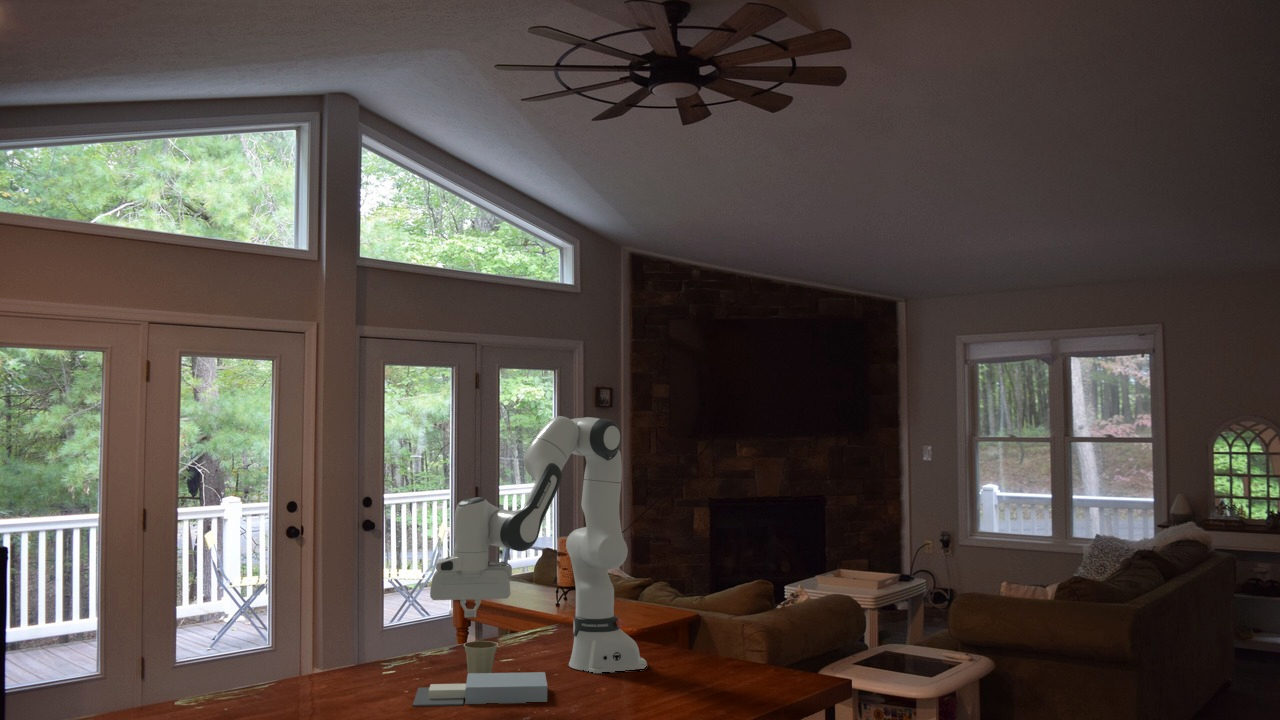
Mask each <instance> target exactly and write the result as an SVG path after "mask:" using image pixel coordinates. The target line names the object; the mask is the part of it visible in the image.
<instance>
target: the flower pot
mask: <svg viewBox="0 0 1280 720" xmlns="http://www.w3.org/2000/svg"><path fill="white" fill-rule="evenodd" d="M463 647H464V651H465V655H466V665H467V674H468V673H493V667H494V661H495V656H496V652H497V649H498V647H499V643H498V642H495V641H490V640H489V641H488V640H476V641H468V642H465V643H464V644H463Z"/></svg>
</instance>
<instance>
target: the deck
mask: <svg viewBox="0 0 1280 720" xmlns="http://www.w3.org/2000/svg"><path fill="white" fill-rule="evenodd" d="M465 684H466V693H465V698H464V700H465V701H464V704H465V705H485V704H486V703H499V704H527V703H526V702H547V703H548V682H547V677H546V672H545V671H539V672H538V671H537V672H534V671H533V672H492V673H468V672H467V676H466V683H465ZM486 705H487V704H486Z"/></svg>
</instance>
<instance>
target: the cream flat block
mask: <svg viewBox="0 0 1280 720" xmlns="http://www.w3.org/2000/svg"><path fill="white" fill-rule="evenodd" d="M429 687H430V688H429V699H439V698H464V699H465V693H466V683H432V684H431V683H430V685H429Z"/></svg>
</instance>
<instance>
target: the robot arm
mask: <svg viewBox="0 0 1280 720" xmlns="http://www.w3.org/2000/svg"><path fill="white" fill-rule="evenodd" d="M621 443H622V432H621V430H620V427H619V425H618V424H617V423H616V421H613V420H611V419H608V418H598V417H589V416H586V417H578V418H577V417H576V418H575V417H567V416H562V415H558V416H554V417H553V418H551V419H550V420H549V421H548V422H547V423H546V424H544V426H543V427H542V428H541V429H540V431H538V433H537V434H536V436H535V437H534V438H533V440H532V441H531V442H530V444H529V445H528V446H527V448H526V451H525V452H524V454H523V455H524V456H523V466H524V469H525V470H526V472H527V473H528V475H529V476H530V477H531V478H532V479H533V480H534V484H533V487H532V490H531V491H530V493H529V495H528V497H527V499H526V501H525V503H524V505H523V506H522V507H520V508H518V509H516V510H511V509H509V510H508V509H502V508H501V507H498V506H495V505H494V504H491V503H490V502H489V501H488V500H487V499H486V498H484V497H476V496H475V497H468V498H465V499H463V500H461V501H460V502H458V503H457V505H456V506H455V507H456V508H455V513H454V520H453V535H454V541H455V544H454V547H453V555H451V556H447V557H445V558H444V557H443V558H441V559H438V561H436V563H435V570H436V571H435V572H434V574H433V576H432V579H431V584H430V589H429V590H430V592H429V597H430V598H431V600H432V601H454V600H455V601H457V600H459V603H460V606H461V608H462V609H463V611H464V618H477V611H478V609H479V607H480V605H481V602H482V601H481V600H498V599H499V600H502V599H508V598H509V597H510V596H511V582H510V578H511V577H512V575H513V574H512V573H513V568H512V565H511V564H509V563H508V562H507V561H489V551H490V550H489V549H490V548H489V547H490V546H494V547H499V548H507V549H510V550H512V551H516V552H525V551H528V550H530V549H531V548H532V547H533V546H534V545H535V543H536V542H537V540H538V538H539V535H540V531H541V527H542V524H543V521H544V520H545V517H546V515H547V512H548V510H549V509H550V506H551V505H552V502H553V500H554V498H555V496H556V494H557V492H558V490H559V488H560V485H561V482H562V477H563V475H562V470H563V469H564V466H565V465H566V463H567V461H568V460H569V458H570V456H571V455H576V456H582V457H585V461H586V464H585V468H584V476H583V482H582V483H583V484H582V485H583V486H582V493H581V505H580V506H581V510H582V511H583V514H584V518H585V519H584V520H585V526H584V527H580V528H577V529H574V530H572V532H570V533H569V534H568V535H567V539H566V542H565V548H566V552H567V554H568V556H569V559H570V562H571V567H572V572H573V578H574V579H573V580H574V584H575V586H574V587H575V614H574V615H573V620H572V621H573V623H572V624H573V625H572V626H573V627H572V628H573V632H572V633H573V646H572V650H571V651H572V652H571V655H570V659H569V662H568V667H570V668H572V669H574V670H579V671H583V670H584V671H583V672H588V671H589V672H588V673H591V672H593V673H592V674H603V673H602V672H610V673H616V672H615V671H625V670H635V669H644V668H645V667H646V666H647V667H648V663H647V660H646V659H644V658H643V657H642V656H640V655H641V654H640V649H639V646H638V644H637V642H636V641H635V640H634V639H633V638H632V637H630V636H629V635H628V634H627V633H625V632H624V631H623V630H622V629H621V628H622V627H623V626H624V624H625V623H624V621H623V620H622V619H621V618H619V617H618V616H616V615H614V613H615V612H614V609H615V588H614V585H613V583H612V581H611V578H610V575H609V574H610V573H609V570H614V569H617V568H619V567H621V566H622V565H623V564H624V563H625V561H626V559H627V557H628V552H629V549H628V546H627V542H626V540H625V539H624V536H623V533H622V532H623V531H622V525H621V517H620V503H621V500H620V499H621V487H622V481H623V480H622V479H623V477H622V476H623V463H622V454H621V453H622V452H621V451H620V447H621ZM467 600H474V604H475V606H474V608H473V609H472V608H471V609H470V608H467V606H466V603H467ZM625 672H626V671H625Z"/></svg>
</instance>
